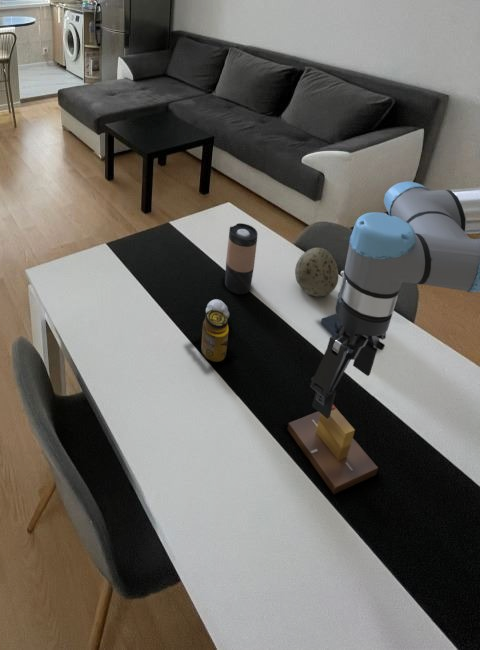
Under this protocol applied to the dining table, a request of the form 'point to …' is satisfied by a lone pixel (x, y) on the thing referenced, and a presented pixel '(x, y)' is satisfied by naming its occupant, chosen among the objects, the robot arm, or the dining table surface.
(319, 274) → the decorative egg
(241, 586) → the dining table surface
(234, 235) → the travel mug
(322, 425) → the yellow upright flat block
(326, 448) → the brown wooden flat block
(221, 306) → the white lumpy ball
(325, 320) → the switch block
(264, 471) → the dining table surface
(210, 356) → the condiment
